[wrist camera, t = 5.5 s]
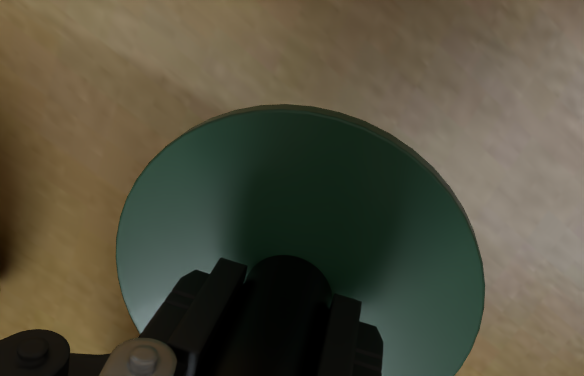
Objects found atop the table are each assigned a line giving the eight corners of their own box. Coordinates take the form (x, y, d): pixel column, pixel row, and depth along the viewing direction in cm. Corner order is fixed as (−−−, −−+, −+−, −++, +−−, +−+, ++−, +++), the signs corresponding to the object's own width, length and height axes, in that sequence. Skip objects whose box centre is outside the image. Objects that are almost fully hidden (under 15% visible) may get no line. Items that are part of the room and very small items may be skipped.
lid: (542, 161, 13) (658, 331, 7) (410, 444, 17) (412, 701, 11) (154, 52, 14) (-38, 120, 8) (119, 347, 18) (-23, 537, 12)
